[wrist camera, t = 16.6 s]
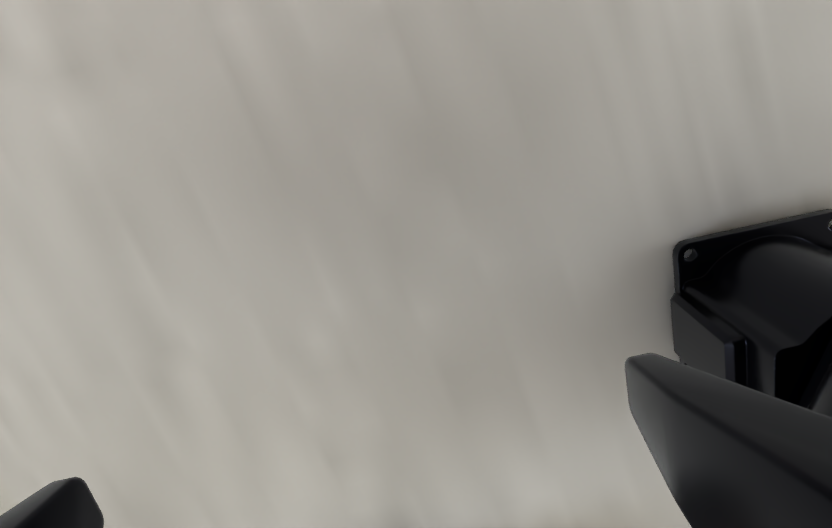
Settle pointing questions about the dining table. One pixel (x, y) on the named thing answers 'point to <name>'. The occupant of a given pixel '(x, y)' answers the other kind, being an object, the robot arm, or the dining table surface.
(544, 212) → the dining table surface
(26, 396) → the dining table surface
